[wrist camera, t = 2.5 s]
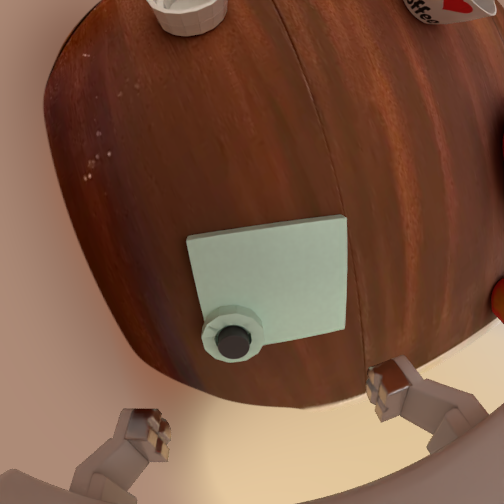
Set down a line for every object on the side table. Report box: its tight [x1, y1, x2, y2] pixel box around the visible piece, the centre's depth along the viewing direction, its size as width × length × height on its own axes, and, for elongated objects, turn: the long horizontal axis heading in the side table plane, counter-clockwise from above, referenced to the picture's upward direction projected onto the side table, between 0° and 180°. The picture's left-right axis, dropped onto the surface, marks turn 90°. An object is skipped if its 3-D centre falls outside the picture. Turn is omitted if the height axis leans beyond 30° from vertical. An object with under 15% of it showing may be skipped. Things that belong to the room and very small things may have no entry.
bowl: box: [147, 0, 228, 36], centre depth 14 cm, size 6×6×5 cm
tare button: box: [218, 326, 250, 359], centre depth 24 cm, size 3×3×2 cm
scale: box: [186, 214, 347, 363], centre depth 25 cm, size 14×12×3 cm
